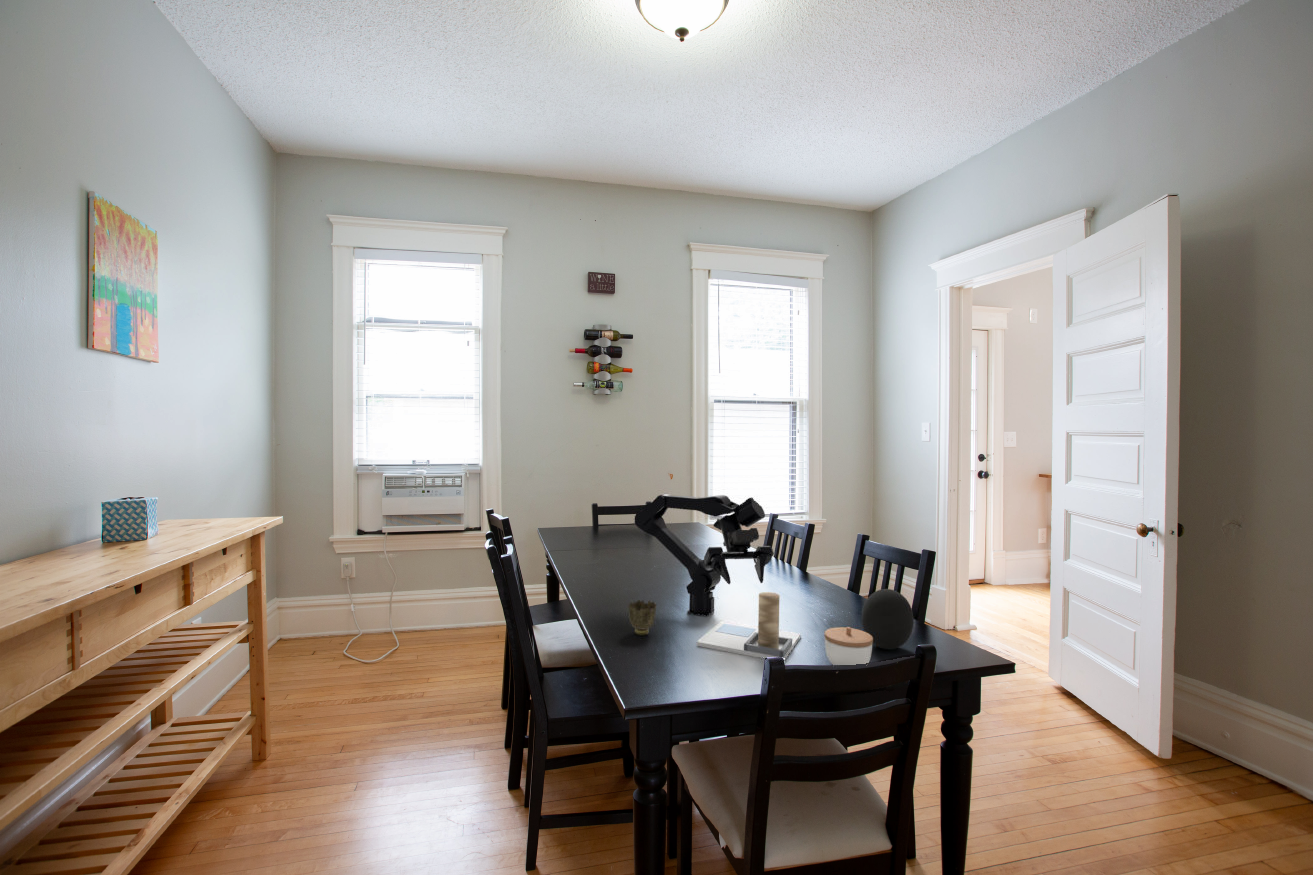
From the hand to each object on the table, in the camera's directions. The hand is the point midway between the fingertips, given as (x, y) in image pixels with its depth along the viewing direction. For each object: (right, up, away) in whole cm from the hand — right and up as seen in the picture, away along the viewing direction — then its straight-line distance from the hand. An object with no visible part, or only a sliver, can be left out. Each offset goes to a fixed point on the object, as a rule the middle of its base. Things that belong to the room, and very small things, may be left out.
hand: (745, 582), depth 162 cm
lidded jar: (+20, -15, -22) cm, 33 cm away
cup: (-28, -13, -2) cm, 31 cm away
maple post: (+4, -13, -13) cm, 18 cm away
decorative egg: (+34, -15, -8) cm, 38 cm away
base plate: (0, -14, -6) cm, 15 cm away
